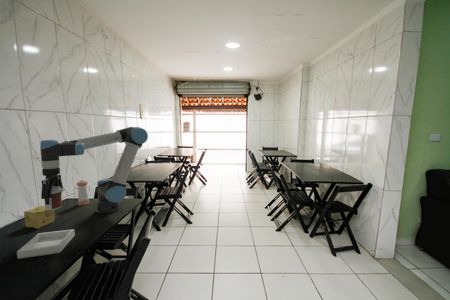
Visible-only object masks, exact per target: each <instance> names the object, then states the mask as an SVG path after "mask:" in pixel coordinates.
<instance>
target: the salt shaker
mask: <svg viewBox="0 0 450 300" xmlns="http://www.w3.org/2000/svg"><path fill="white" fill-rule="evenodd" d="M87 185H88V181H87V180H84V179H82V180H80V181H78V182H77V183H76V186H77V187H78V189H77V190H78V193H77V197H78V200H77V205H78V206H86V205H89V204H90V198H89V192H88V186H87Z"/></svg>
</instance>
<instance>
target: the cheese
mask: <svg viewBox="0 0 450 300" xmlns="http://www.w3.org/2000/svg"><path fill="white" fill-rule="evenodd" d="M55 211H56V210H45V205H39V206H37V207H33V208H31V209H29V210H26V211H24V212H23V214H24V215H23V216H24V223H25V227H26V228H34V229H41V228H43V227H44V226H47V225H49V224H52V223H53V222H55V217H56V213H55Z"/></svg>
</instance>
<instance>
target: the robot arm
mask: <svg viewBox="0 0 450 300" xmlns="http://www.w3.org/2000/svg"><path fill="white" fill-rule="evenodd" d="M148 138H149V135H148V132H147V130H146V129H145V128H143V127H140V126H135V127H134V126H130V127H125V128H123V129H119V130H118V129H117V130H116V131H114V132H110V133H104V134H100V135H98V134H97V135H93V136H88V137H84V138H79V139H73V140H69V141H68V140H66V141H65V140H64V141H63V142H61V143H59V140H57V139H44V140H41V141H40V144H39V145H40V148H39V149H40V150H39V151H40V159H41V162H40V164H41V168H42V170H41V172H42V173H41V175H43V177H45V178H44V180H43V179H42V180H41V196H40V199H42V200H44V206H45V210H52V201H51V198H50V195H51V191H52V186H60V187H61V188H62V189H63V191H62V193H63V192H64V186H63V181H62V174H61V167H60V166H61V164H60V157H72V156H81V155H82V156H83V155H84V154H85V151H86V150H89V149H94V148H99V147H103V146H107V145H112V144H117V143H120V144H123V143H124V144H125V146H124V149H123V152H122V154H121V156H120V159H119V161H118V163H117V166H116V167H115V170H114V174H113V175H112V177H111V178H103V179H99V180H97V183H96V184H97V185H96V187H97V198H98V201H97V205H96V209H95V211H96V213H97V214H99V215H106V214H113V213H115V212H117V211H119V210H120V208H121V205H120V202H121V201H122V200H124V199H125V198H126V195H127V189H126V187H127V186H128V183H127V179H128V176H129V173H130V171H131V168H132V166H133V163H134V162H135V158H136V155H137V153H138V150H139V149H141V148H142V146H143V144H145V143H146V142H147V141H148ZM62 201H63V199H62V198H61V204H62V203H63V202H62Z"/></svg>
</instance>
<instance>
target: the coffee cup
mask: <svg viewBox="0 0 450 300" xmlns="http://www.w3.org/2000/svg"><path fill="white" fill-rule="evenodd" d="M62 191H63V192H64V188H63V189H62V188H61V187H60V186H52V191H51V195H50V198H51V201H52V210H55V211H56V210H60V208H62V203H61V199H62V193H63V192H62Z"/></svg>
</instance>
